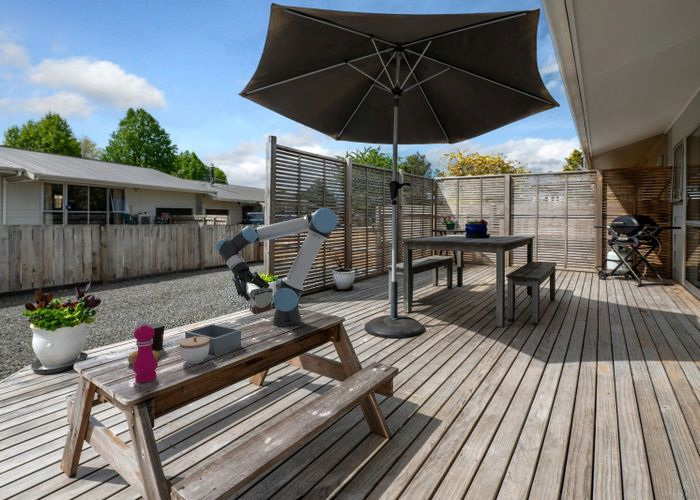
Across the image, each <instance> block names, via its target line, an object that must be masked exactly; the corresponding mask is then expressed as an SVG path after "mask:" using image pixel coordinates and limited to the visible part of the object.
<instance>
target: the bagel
mask: <svg viewBox="0 0 700 500" xmlns="http://www.w3.org/2000/svg"><path fill="white" fill-rule="evenodd" d="M152 351H153V354H154V356H155V358H156V360H157V361H158V360H159V359H160V358H161V355H160V353H159V352H158V351H154V350H152ZM137 354H138V350H137V351H133V352H131V353H130V355H129V356H127V357H128V358H127V361H128V363H129V364H130V365H132V366H134V362H135V360H136V357H137Z"/></svg>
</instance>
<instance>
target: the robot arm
mask: <svg viewBox="0 0 700 500" xmlns="http://www.w3.org/2000/svg"><path fill="white" fill-rule="evenodd" d="M337 225H338V217H337V215H336V213H335V212H334V210H332V209H331V208H329V207H320V208H318V209H316V211H313V212H310V213H307V214H305V216H302V217H298V218H294V219H289V220H284V221H279V222H276V223H270V224H267V225H263V226H257V227H251V226H250V225H246V226H245V227H244V228H242V229H241V230H240V231H239V232H238V233H237V234H235V235H234V236H233V237H231V238H227V237H223V238H222V239H220V240H218V241H217V242H216V244H215V247H216V250H217V252H218V254H219V255H220V257H221V258H222V259H223V260H224V263H225V264H226V265H227V266H228V268H229V269H230V271H231V273H232V274H233V277H232V278H231V280H232V281H233V283H234V286H235V290H236V294H237V296H240V297H241V298H244V300H245V301H246V302H247V303H248V304H249V305H250V306H251V308H252V307H254V306H255V305H256V304H257V303H256V302H255V301H254V299H253V298H252V297H251V296H250V292H249V291H248V289H247V284H248V283H249V284H253V285H255V286H256V287H257V288H258V289H259V288H269V287H270V283H268V281H266V280H265V279H264V278H263V277H261V275H259V273H258V272H257V271H254V272H251V270H250V267H249V265H248V264H247V262H245V261H246V260H245V259H244V258H243V257H242V255H241V254H240V252H242V251H243V250H244V249H246V248H247V247H248V246H250V245H253V244H258V243H261V242H265V241H269V240H274V239H280V238H283V237H287V236H291V235H296V234H301V233H304V232H305V233H306V232H307V234H306V237H305V239H304V241H303V243H302V244H301V247H300V248H299V251H298V253H297V254H296V257H295V258H294V261H293V263H292V265H291V267H290V269H289V271H288V273H287V275H286V277H283V278H282V279H278V280H276V281H275V292H274V294H273V295H272V303H273V304H274V306H275V312H274V315H273V318H272V325H274V326H276V327H281V328H282V327H284V328H286V327H287V328H289V327H296V326H299V325H301V324H302V323H303V318H302V316H301V313H300V312H301V311H300V307H299V299H300V297H301V296H302V293H303V291H304V287H303V284H304V283H305V280H306V278H307V277H308V274H309V272H310V270H311V268H312V266H313V263H314V262H315V260H316V258H317V256H318V254H319V252H320V250H321V248H322V245H323V244H324V241H327V240H329V239H330V237H331V234H332V232H333V231H334V229H336V227H337ZM247 291H248V292H247Z"/></svg>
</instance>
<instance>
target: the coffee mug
mask: <svg viewBox="0 0 700 500" xmlns="http://www.w3.org/2000/svg"><path fill="white" fill-rule="evenodd" d="M147 325H148V326H151V327H152V328H153V329H154V336H153V337H152V339H153V344H152V350H154V351H156V352H158V351H161V350H162V349H163V347H164V345H163V343H164V334H165V325H166V324H165V323H164V322H151V323H147Z"/></svg>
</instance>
